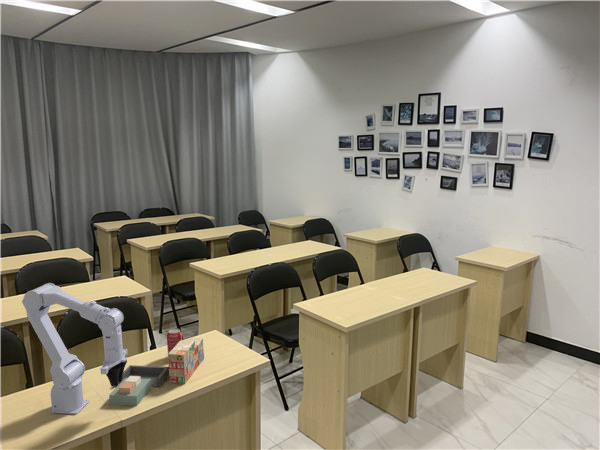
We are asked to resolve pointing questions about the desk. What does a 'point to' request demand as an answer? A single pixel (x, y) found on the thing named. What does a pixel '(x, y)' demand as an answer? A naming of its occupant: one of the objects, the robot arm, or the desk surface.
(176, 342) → the beverage can
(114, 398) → the sage green slab
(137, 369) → the tray
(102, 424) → the desk surface
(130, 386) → the terracotta tile
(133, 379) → the cream tile
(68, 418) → the desk surface
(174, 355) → the stack of blocks
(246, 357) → the desk surface
